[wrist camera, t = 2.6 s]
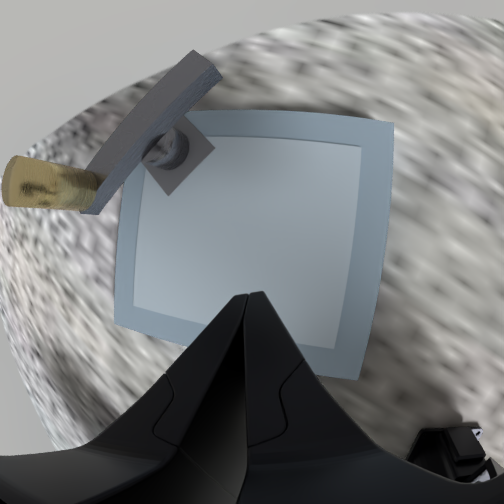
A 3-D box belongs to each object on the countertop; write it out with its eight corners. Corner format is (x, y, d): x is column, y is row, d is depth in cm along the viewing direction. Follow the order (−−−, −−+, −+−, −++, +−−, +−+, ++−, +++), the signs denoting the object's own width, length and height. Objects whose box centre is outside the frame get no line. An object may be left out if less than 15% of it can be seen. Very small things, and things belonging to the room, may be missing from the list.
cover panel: (355, 367, 19) (358, 382, 17) (129, 317, 23) (111, 324, 21) (388, 131, 17) (394, 119, 15) (150, 122, 22) (134, 113, 20)
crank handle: (244, 103, 17) (169, 8, 8) (128, 224, 20) (9, 220, 10) (217, 80, 18) (138, -8, 8) (109, 196, 20) (-3, 181, 11)
